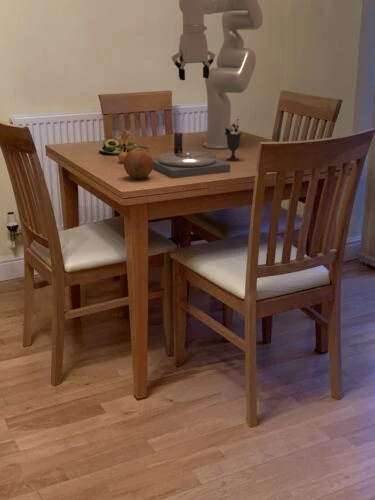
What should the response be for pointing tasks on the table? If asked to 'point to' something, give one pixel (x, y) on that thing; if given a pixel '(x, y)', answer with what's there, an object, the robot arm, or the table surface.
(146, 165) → the onion
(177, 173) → the instrument base
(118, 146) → the avocado toast plate
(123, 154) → the figurine
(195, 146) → the table surface
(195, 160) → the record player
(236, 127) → the sundae
